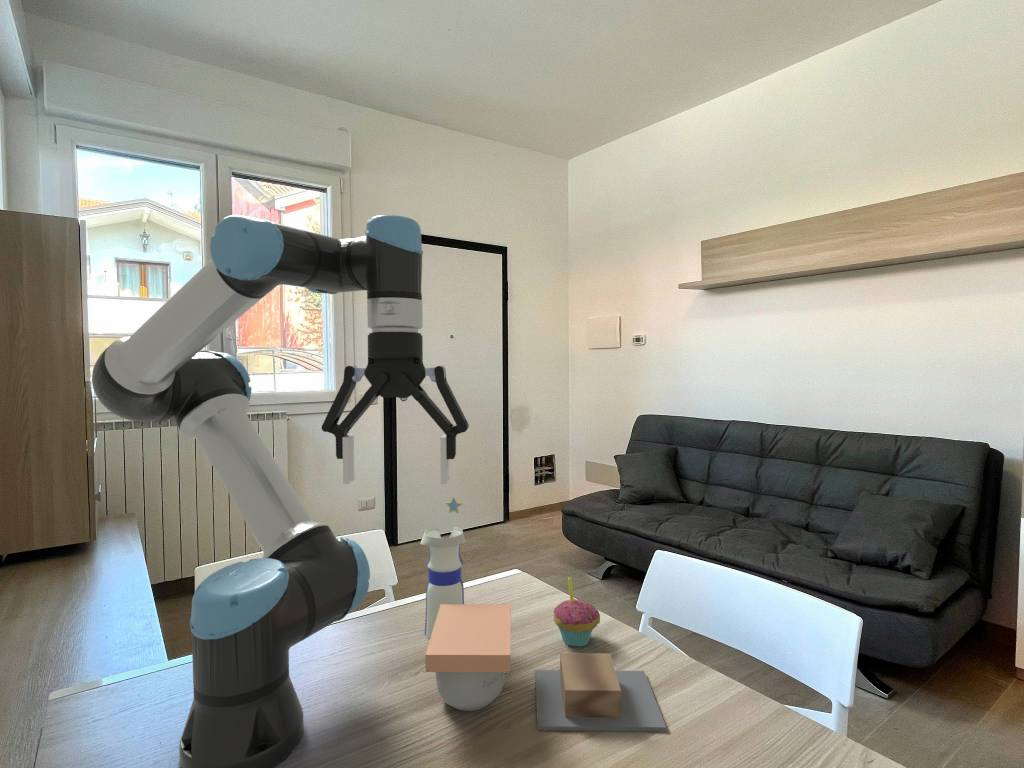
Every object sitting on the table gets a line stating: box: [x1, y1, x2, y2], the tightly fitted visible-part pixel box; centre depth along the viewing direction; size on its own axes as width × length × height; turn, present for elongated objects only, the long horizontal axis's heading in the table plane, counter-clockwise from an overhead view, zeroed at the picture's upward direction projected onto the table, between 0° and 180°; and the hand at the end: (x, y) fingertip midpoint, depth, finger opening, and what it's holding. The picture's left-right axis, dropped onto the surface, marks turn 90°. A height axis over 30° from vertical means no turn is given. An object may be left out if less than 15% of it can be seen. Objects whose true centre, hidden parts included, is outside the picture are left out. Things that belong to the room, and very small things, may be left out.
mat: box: [534, 669, 667, 732], centre depth 85 cm, size 18×14×1 cm
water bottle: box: [420, 497, 467, 640], centre depth 106 cm, size 8×9×25 cm
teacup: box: [434, 672, 506, 712], centre depth 87 cm, size 14×11×8 cm
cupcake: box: [553, 572, 601, 647], centre depth 103 cm, size 9×8×12 cm
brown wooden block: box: [559, 652, 621, 718], centre depth 85 cm, size 8×10×4 cm
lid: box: [424, 603, 512, 673], centre depth 86 cm, size 12×16×2 cm
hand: (396, 482), depth 79 cm, fingers open, 13 cm apart
